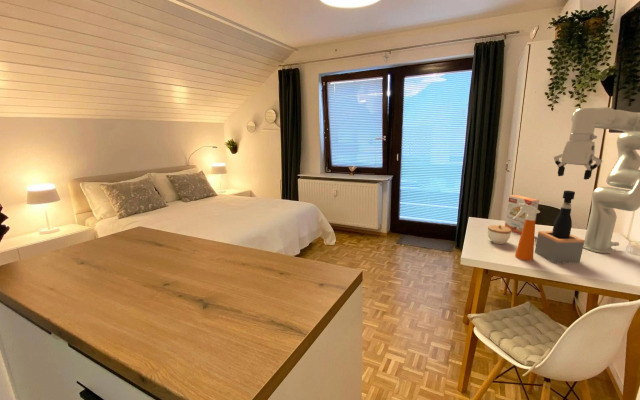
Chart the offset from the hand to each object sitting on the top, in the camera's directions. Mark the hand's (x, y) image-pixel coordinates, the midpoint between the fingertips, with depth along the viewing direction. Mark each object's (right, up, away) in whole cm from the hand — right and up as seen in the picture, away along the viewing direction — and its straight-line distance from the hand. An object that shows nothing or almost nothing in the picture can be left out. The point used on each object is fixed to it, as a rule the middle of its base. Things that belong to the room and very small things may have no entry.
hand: (573, 177), depth 132 cm
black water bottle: (0, -35, +9) cm, 37 cm away
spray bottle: (-17, -37, +10) cm, 42 cm away
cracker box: (+4, -29, +43) cm, 52 cm away
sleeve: (0, -37, +9) cm, 38 cm away
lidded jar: (-17, -33, +28) cm, 46 cm away
